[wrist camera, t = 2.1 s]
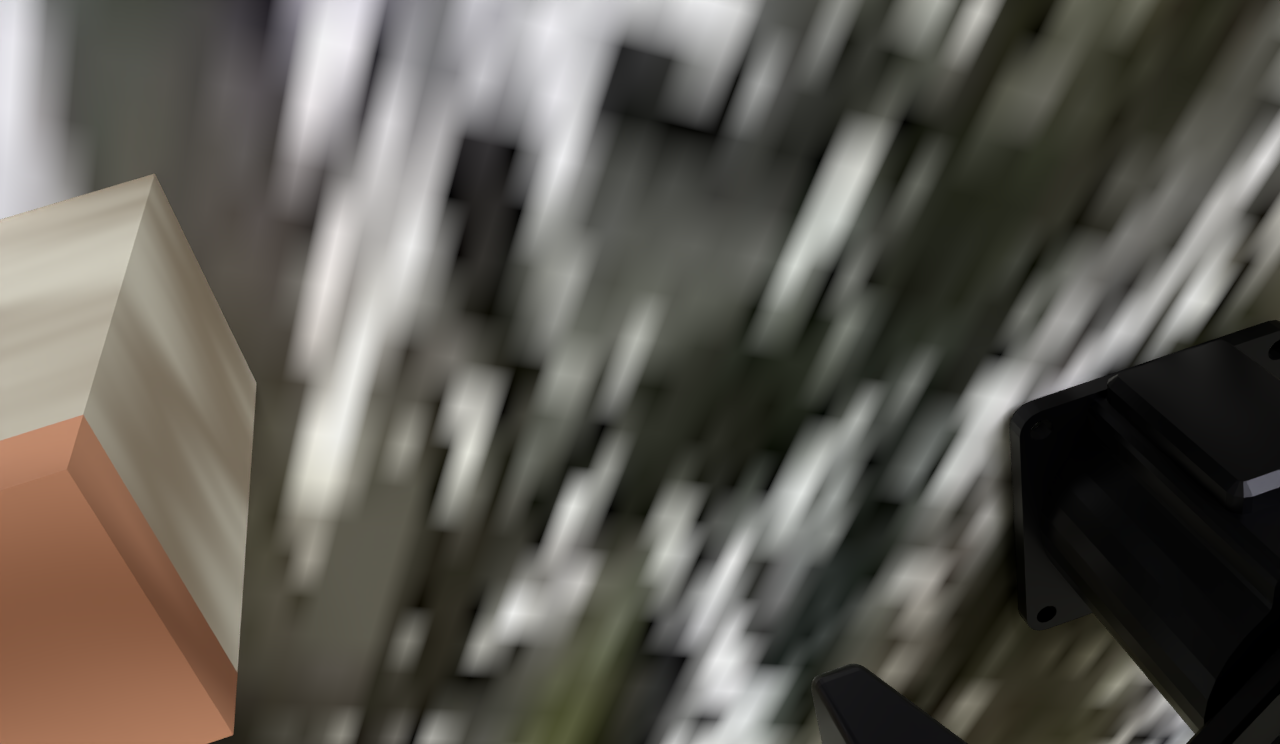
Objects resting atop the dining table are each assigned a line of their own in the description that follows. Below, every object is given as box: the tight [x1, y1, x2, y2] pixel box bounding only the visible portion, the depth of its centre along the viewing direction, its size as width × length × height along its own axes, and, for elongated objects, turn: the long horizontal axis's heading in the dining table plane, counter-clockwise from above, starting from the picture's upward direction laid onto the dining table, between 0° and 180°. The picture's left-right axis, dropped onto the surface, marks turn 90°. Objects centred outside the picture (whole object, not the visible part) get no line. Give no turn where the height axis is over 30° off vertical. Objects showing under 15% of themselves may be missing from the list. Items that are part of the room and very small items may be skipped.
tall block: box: [0, 174, 257, 744], centre depth 15 cm, size 4×4×8 cm
